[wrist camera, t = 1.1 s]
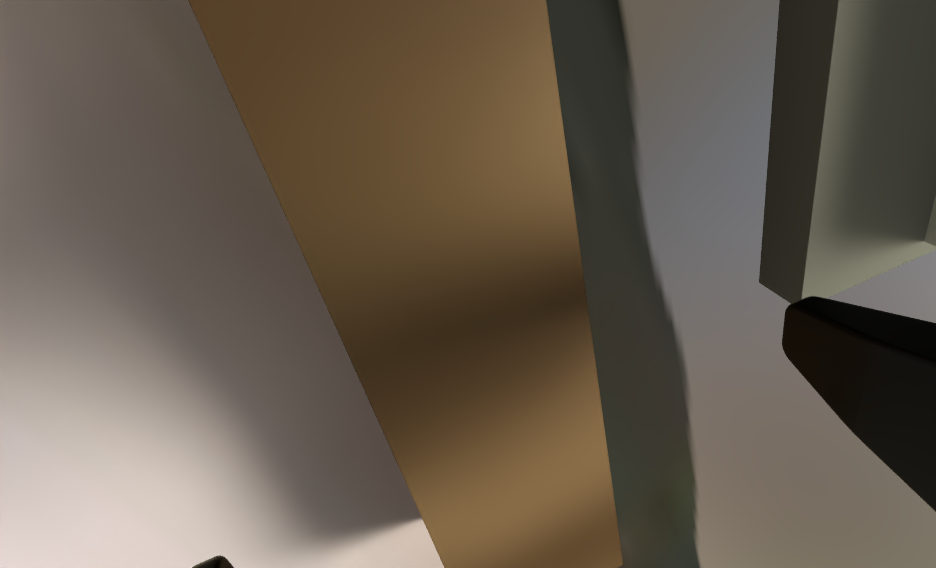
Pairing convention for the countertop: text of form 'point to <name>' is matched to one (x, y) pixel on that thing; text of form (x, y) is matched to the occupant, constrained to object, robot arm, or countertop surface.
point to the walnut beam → (441, 252)
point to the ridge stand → (849, 144)
